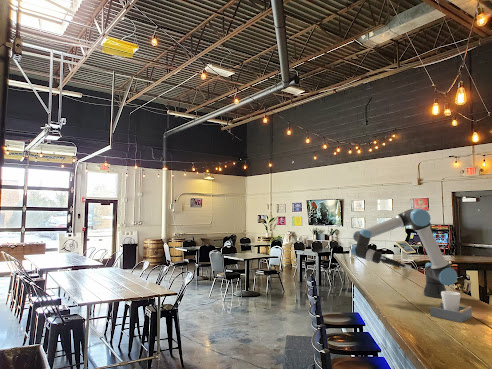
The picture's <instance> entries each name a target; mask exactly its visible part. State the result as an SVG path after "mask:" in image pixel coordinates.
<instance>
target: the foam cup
mask: <svg viewBox="0 0 492 369" xmlns="http://www.w3.org/2000/svg"><path fill="white" fill-rule="evenodd" d="M441 296H442V298H441V300H442V303H443V306H444V309H445V310H450V311H456V312H459V306H460V302H461V301H460V300H461V293H460V292H457V291H450V290H446V291H442V292H441Z"/></svg>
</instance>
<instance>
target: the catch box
mask: <svg viewBox="0 0 492 369" xmlns="http://www.w3.org/2000/svg"><path fill="white" fill-rule="evenodd" d="M439 304H440V307H435V306H429V316H430V317H432V318H436V319H437V318H438V319H443V320H447V321H451V322H456V323H464V322H466V321H468V320H470V319H471V318H473V312H472V311H473V310H472V306H471V305H470V306H462V305H459V312H456V311H450V310H445V309H444V306H443V302H440V303H439Z"/></svg>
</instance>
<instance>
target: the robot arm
mask: <svg viewBox="0 0 492 369" xmlns="http://www.w3.org/2000/svg"><path fill="white" fill-rule="evenodd" d="M408 226H412V230H413V231H414V232H416V233H417V234H418V237H419V239H420V241H421V243H422V245H423V248H424V250H425V252H426V254H427V256H428V258H429V261H430V262H427V263H425V265H424V266H425V267H424V268H425V286H424V289H423V295H424V296H427V297H430V298H438V299H442V296H441V292H442V291H447V289H446V286H452V285H454V283H456V282H457V280H458V273H457V271H456V270H455V269H454V268H452V266H451V264H450V262H449V261H447V260H446V259H445V257H444V256H443V253H442V251H441V248H440V247H439V244H438V242H437V240H436V238H435V236H434V233H433V232H432V229H431V227H432V223H431V215H430V213H429V212H428V211H427V210H426V209H423V208H410V209H407V210H405V211H403V212H400V213H399V214H396V215H395V217H391V218H389V219H387V220H384V221H382V222H379V223H376V224H373V225H372V226H369V227H366V228H362V229H360V230H357V231H355V232H353V234H352V239H353V240H354V241H355V242H356V244H353V245H352V246H351V249H350V253H351V255H353V256H354V257H357V258H360V259H364V260H365V261H366V260H367V261H368V262H373V263H375V264H379V263H381V262H382V263H383V264H386V265H391V266H394V267H397V268H402V269H405V270H407V271H412V270H411V269H412V265H409V264H405V263H403V262H401V261H398V260H395V259H393V258H389V257H387V256H385V255H383V254H382V252H380V251H376V250H374V249H371V248H368V247H369V244H370V241H371V239H372V238H375V237H377V236H380V235H382V234H385V233H387V232H390V231H392V230H395V229H398V228H400V227H401V228H405V227H408Z"/></svg>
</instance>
